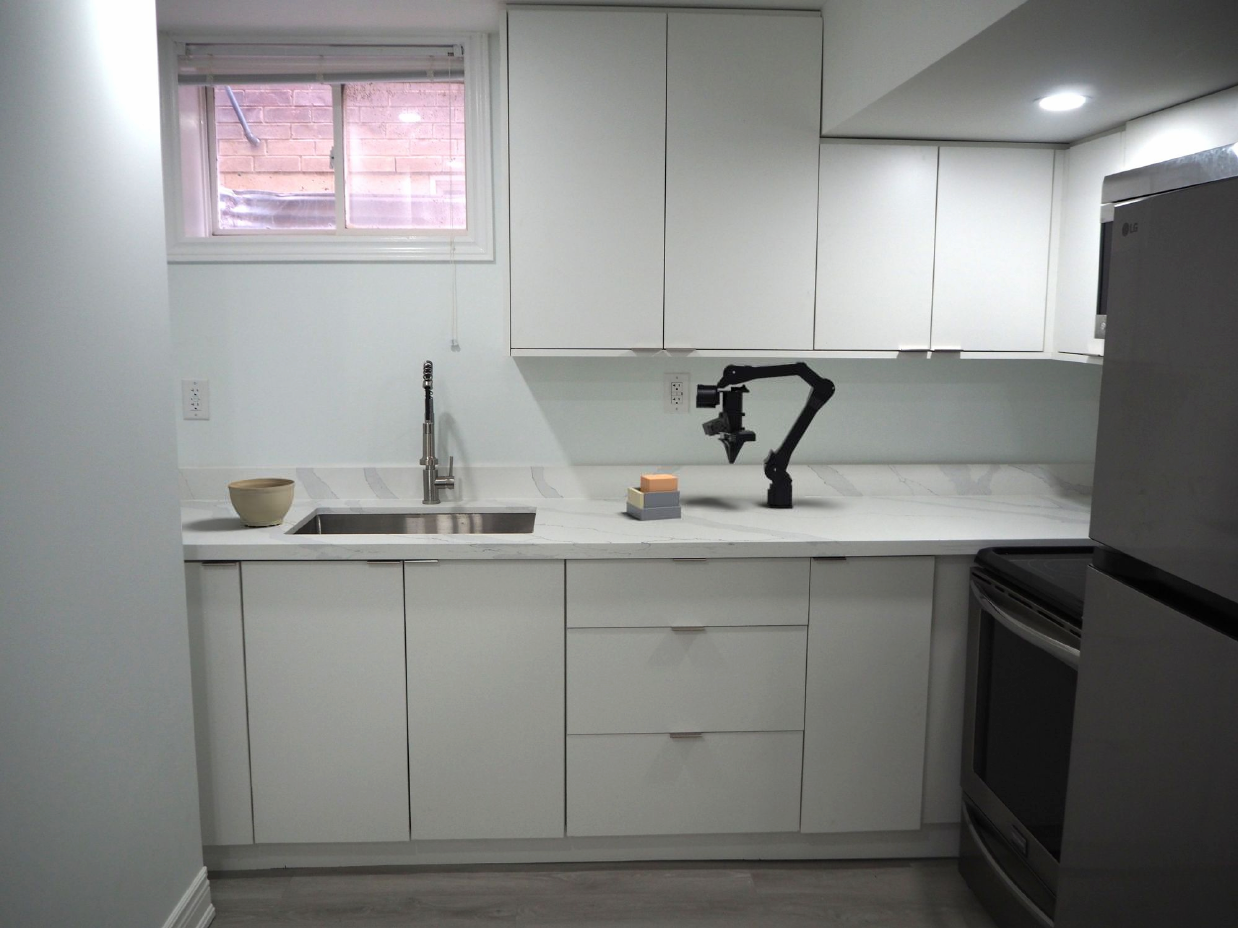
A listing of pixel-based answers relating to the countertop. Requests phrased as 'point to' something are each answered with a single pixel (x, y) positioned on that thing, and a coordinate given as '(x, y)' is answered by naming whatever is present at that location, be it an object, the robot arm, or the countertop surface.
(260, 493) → the planter bowl
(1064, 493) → the countertop surface
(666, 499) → the open gray box
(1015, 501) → the countertop surface
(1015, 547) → the countertop surface
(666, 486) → the orange block
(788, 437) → the robot arm
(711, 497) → the countertop surface
